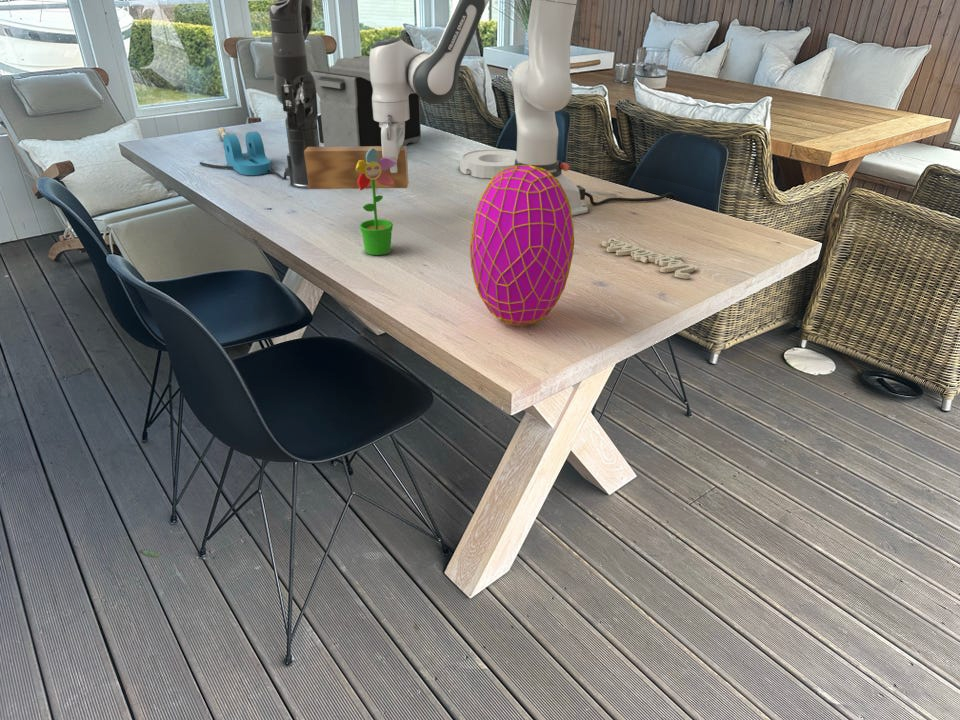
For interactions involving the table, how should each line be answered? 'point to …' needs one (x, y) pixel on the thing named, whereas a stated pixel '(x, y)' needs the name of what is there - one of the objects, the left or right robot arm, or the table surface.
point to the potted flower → (377, 229)
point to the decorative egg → (522, 244)
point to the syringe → (222, 133)
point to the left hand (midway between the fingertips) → (297, 125)
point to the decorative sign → (651, 257)
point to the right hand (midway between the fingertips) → (395, 168)
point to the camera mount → (246, 154)
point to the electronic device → (355, 106)
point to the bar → (347, 167)
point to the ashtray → (486, 162)
